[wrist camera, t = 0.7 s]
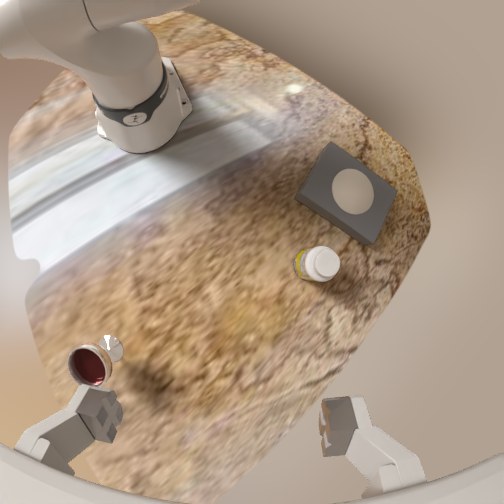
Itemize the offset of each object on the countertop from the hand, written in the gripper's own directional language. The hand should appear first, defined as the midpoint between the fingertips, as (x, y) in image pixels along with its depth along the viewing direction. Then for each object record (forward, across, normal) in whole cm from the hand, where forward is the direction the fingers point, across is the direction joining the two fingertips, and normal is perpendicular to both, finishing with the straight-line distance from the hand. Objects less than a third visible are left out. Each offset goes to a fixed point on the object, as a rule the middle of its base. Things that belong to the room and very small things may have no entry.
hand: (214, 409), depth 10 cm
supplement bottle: (+43, -10, +13) cm, 45 cm away
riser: (+49, -17, +2) cm, 52 cm away
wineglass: (+31, +26, +24) cm, 47 cm away
